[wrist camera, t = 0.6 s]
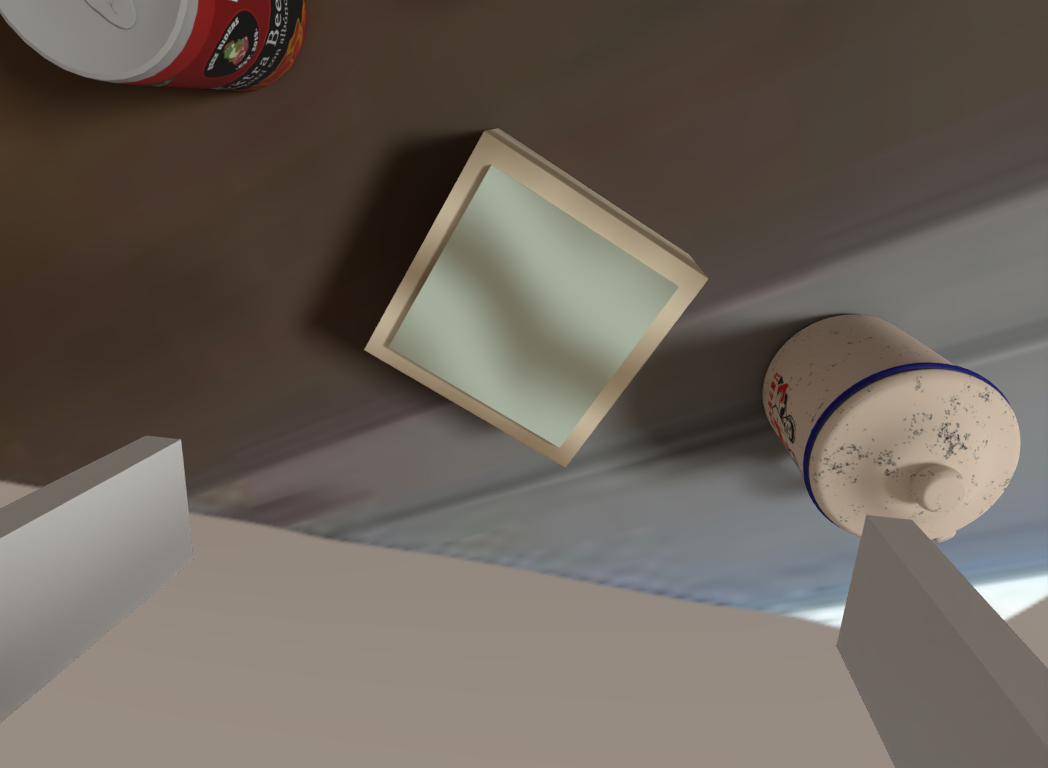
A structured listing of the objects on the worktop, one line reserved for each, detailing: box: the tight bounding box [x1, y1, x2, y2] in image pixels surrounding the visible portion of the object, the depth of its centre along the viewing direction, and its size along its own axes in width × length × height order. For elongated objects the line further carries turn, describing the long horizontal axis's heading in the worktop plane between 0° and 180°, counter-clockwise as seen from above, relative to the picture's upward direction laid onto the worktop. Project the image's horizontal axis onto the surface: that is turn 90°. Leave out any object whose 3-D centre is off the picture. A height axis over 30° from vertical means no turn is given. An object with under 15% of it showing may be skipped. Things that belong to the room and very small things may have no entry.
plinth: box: [364, 128, 708, 467], centre depth 33 cm, size 12×12×6 cm
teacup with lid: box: [763, 315, 1020, 542], centre depth 32 cm, size 12×9×12 cm
